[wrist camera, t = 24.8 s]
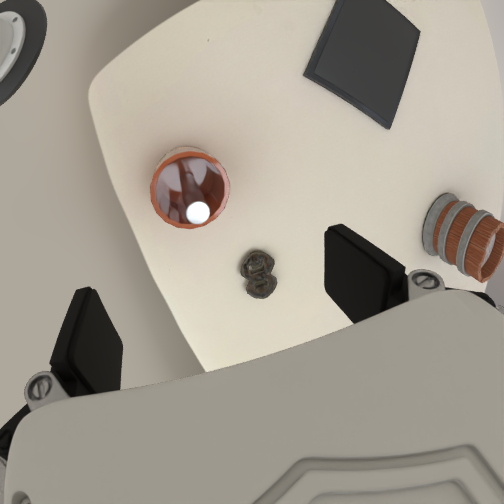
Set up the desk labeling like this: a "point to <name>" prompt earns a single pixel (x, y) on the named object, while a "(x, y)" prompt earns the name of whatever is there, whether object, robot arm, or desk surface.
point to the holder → (169, 188)
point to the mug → (464, 237)
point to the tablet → (365, 56)
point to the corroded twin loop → (259, 275)
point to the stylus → (194, 200)
